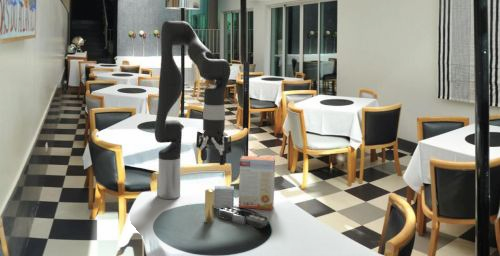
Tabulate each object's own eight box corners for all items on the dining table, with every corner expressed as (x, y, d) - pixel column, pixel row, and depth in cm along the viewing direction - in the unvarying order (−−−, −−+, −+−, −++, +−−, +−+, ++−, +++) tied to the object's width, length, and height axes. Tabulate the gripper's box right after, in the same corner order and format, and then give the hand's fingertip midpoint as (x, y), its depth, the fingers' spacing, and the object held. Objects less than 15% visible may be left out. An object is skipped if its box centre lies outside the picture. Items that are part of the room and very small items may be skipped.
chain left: (218, 216, 175) (219, 209, 174) (226, 213, 179) (226, 206, 178) (233, 221, 171) (234, 213, 171) (240, 217, 175) (241, 209, 175)
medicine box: (233, 205, 187) (234, 185, 186) (233, 209, 183) (234, 189, 181) (214, 205, 187) (214, 185, 185) (213, 209, 183) (214, 188, 181)
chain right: (245, 224, 168) (245, 216, 168) (252, 220, 172) (252, 212, 172) (261, 228, 165) (261, 221, 164) (268, 224, 169) (268, 217, 168)
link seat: (232, 221, 170) (232, 214, 170) (242, 216, 176) (242, 209, 175) (244, 225, 168) (244, 217, 167) (253, 219, 173) (253, 212, 173)
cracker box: (273, 205, 189) (275, 157, 185) (272, 210, 183) (274, 160, 179) (240, 202, 191) (242, 154, 187) (238, 207, 185) (239, 158, 181)
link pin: (202, 221, 170) (203, 190, 168) (208, 218, 173) (209, 188, 170) (210, 223, 168) (210, 192, 166) (215, 220, 171) (216, 190, 169)
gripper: (191, 115, 158) (191, 160, 161) (222, 121, 149) (221, 168, 152) (206, 113, 164) (205, 157, 167) (236, 118, 155) (235, 164, 158)
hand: (213, 162), depth 159 cm, fingers open, 8 cm apart
